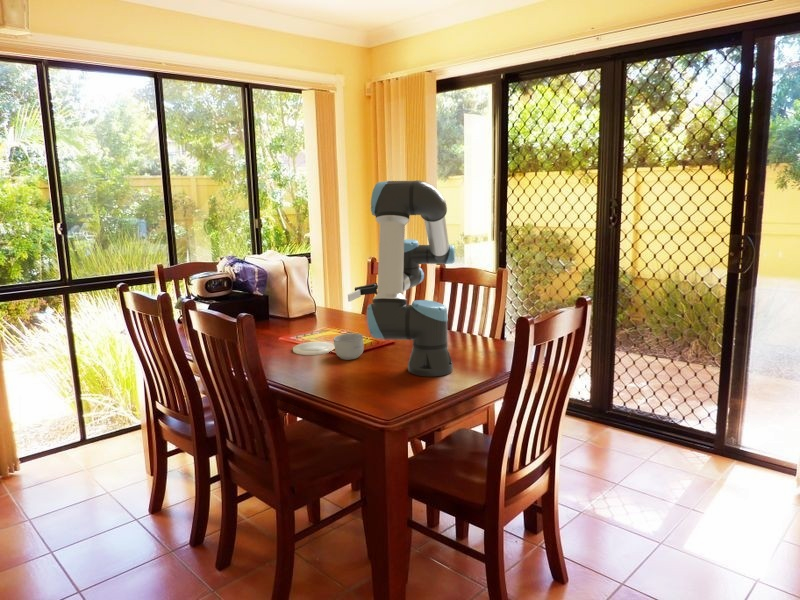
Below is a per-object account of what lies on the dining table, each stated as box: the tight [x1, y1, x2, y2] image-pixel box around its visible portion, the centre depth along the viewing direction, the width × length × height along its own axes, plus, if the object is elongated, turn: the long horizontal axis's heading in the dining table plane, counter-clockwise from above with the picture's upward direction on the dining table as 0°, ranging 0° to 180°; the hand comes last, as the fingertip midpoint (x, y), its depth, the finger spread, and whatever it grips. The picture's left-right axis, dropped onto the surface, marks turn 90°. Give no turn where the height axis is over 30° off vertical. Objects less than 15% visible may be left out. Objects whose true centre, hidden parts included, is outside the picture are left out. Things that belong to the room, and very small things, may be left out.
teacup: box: [333, 332, 365, 361], centre depth 218 cm, size 14×11×8 cm
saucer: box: [292, 341, 335, 356], centre depth 228 cm, size 16×16×1 cm
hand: (362, 301), depth 219 cm, fingers open, 13 cm apart
